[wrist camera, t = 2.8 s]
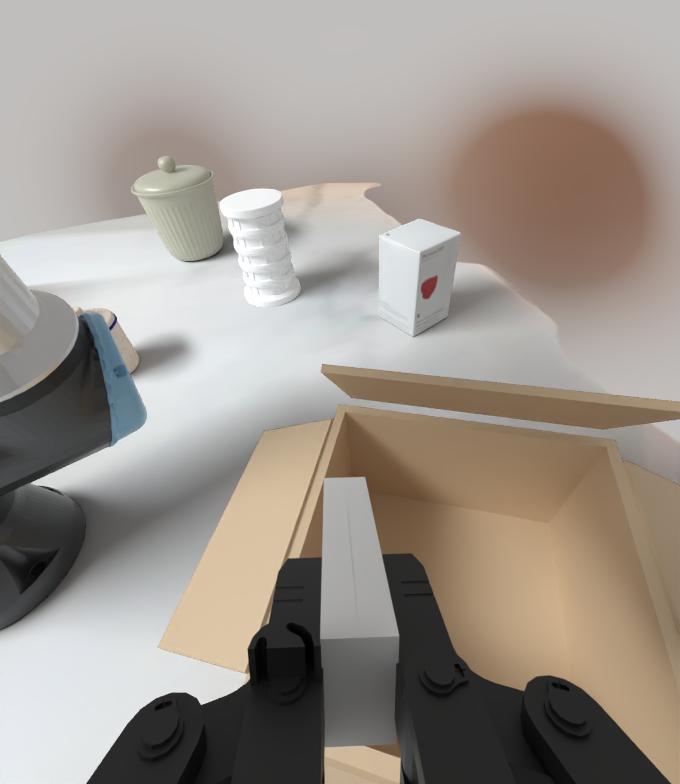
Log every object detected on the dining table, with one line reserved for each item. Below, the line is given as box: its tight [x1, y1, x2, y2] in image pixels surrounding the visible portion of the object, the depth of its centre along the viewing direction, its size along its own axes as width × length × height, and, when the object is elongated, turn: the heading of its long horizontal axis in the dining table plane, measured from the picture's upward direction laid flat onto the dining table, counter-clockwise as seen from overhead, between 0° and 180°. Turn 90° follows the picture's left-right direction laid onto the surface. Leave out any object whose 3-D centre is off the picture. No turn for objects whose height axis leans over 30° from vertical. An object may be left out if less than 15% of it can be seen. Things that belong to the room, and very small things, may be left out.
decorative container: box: [220, 189, 301, 307], centre depth 69 cm, size 12×12×18 cm
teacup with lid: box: [72, 307, 139, 374], centre depth 58 cm, size 12×9×12 cm
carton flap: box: [321, 364, 680, 429], centre depth 25 cm, size 1×20×10 cm
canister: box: [131, 156, 223, 261], centre depth 85 cm, size 18×18×21 cm
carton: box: [158, 404, 680, 784], centre depth 27 cm, size 26×37×14 cm
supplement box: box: [379, 219, 461, 337], centre depth 60 cm, size 9×9×15 cm
